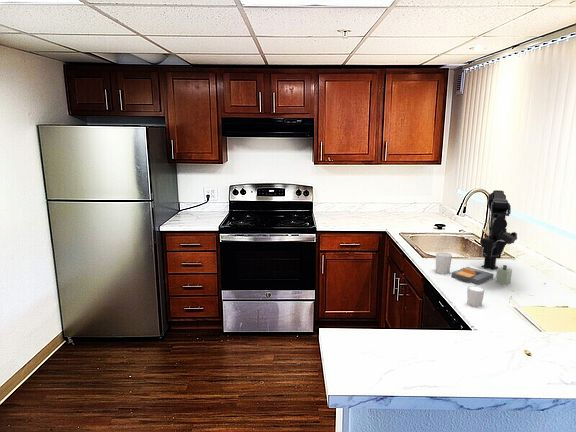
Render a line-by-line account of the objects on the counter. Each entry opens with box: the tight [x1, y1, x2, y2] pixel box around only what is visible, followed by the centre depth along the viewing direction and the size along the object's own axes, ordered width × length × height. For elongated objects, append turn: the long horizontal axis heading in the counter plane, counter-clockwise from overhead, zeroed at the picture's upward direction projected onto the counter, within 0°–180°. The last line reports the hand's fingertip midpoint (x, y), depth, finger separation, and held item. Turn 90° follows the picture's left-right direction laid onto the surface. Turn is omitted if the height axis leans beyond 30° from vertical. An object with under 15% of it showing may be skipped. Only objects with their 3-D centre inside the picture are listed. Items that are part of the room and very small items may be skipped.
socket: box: [450, 266, 494, 286], centre depth 206 cm, size 15×14×2 cm
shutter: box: [456, 267, 476, 278], centre depth 202 cm, size 6×7×2 cm
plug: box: [495, 264, 513, 286], centre depth 199 cm, size 4×5×9 cm
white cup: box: [435, 251, 453, 275], centre depth 214 cm, size 8×8×10 cm
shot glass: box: [466, 285, 485, 308], centre depth 174 cm, size 7×7×7 cm
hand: (494, 256), depth 199 cm, fingers open, 9 cm apart
